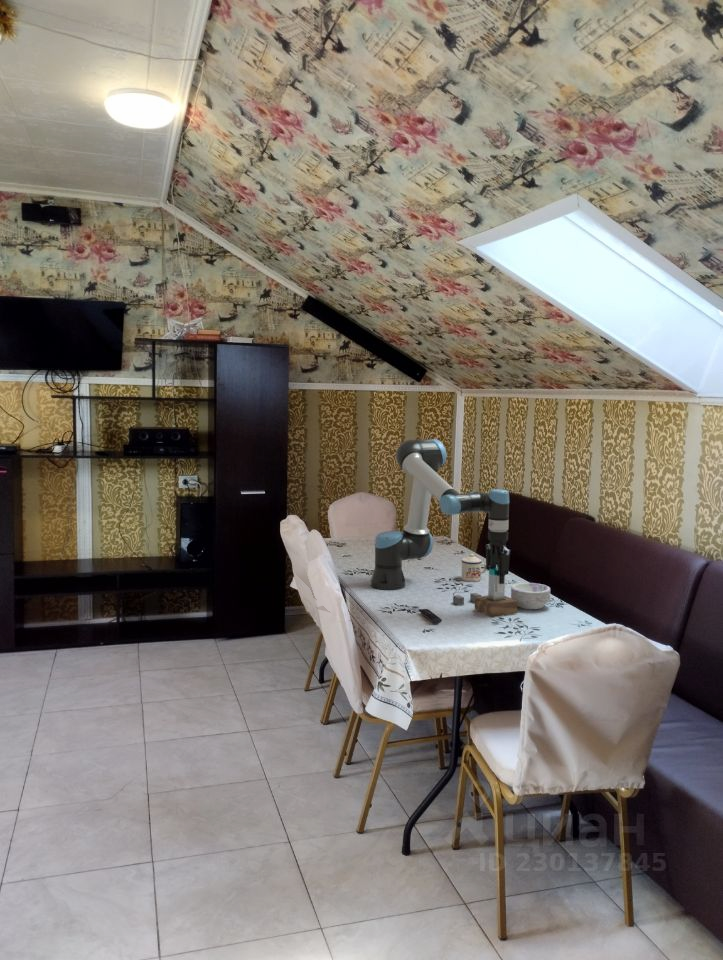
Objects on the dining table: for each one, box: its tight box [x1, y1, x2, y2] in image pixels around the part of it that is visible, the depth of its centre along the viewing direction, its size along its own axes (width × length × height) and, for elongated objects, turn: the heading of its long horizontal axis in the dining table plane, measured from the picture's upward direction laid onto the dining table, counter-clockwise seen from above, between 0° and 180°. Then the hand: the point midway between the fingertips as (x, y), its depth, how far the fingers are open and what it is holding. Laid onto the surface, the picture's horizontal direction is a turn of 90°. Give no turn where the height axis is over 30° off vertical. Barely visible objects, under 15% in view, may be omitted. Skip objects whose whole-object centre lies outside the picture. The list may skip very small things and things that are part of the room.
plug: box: [487, 567, 506, 601], centre depth 290 cm, size 4×5×12 cm
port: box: [474, 595, 518, 618], centre depth 291 cm, size 11×12×5 cm
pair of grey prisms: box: [452, 592, 482, 606], centre depth 303 cm, size 4×11×3 cm, turn 116°
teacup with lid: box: [461, 553, 487, 582], centre depth 341 cm, size 12×9×12 cm
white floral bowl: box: [510, 582, 551, 610], centre depth 298 cm, size 15×15×8 cm
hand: (496, 590), depth 290 cm, fingers closed on plug, 3 cm apart
